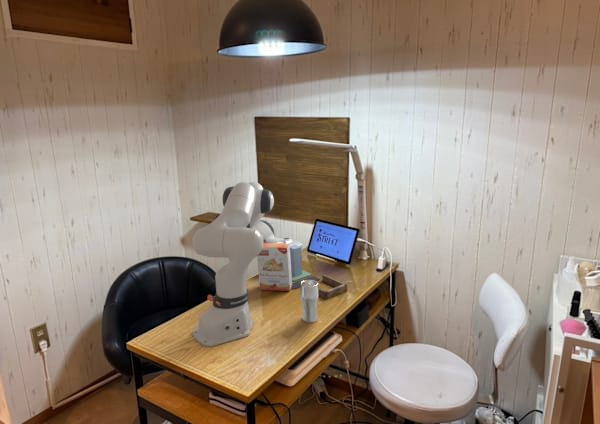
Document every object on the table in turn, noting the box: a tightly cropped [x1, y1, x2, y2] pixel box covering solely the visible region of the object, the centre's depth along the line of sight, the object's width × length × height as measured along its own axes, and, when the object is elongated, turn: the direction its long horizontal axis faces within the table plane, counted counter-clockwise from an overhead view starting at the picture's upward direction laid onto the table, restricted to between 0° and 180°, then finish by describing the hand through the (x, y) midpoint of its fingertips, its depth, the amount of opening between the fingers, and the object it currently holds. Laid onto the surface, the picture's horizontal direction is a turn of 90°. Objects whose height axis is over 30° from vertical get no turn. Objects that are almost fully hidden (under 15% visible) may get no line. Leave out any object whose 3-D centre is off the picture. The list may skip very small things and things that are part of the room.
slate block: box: [290, 245, 303, 277], centre depth 199 cm, size 5×5×14 cm
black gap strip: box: [290, 275, 320, 290], centre depth 192 cm, size 16×5×1 cm, turn 129°
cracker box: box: [256, 243, 293, 292], centre depth 184 cm, size 14×6×21 cm, turn 80°
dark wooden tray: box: [318, 274, 348, 300], centre depth 185 cm, size 12×15×3 cm
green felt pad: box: [292, 269, 313, 283], centre depth 201 cm, size 11×11×1 cm
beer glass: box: [299, 280, 320, 323], centre depth 158 cm, size 7×7×15 cm
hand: (293, 254), depth 200 cm, fingers open, 8 cm apart
